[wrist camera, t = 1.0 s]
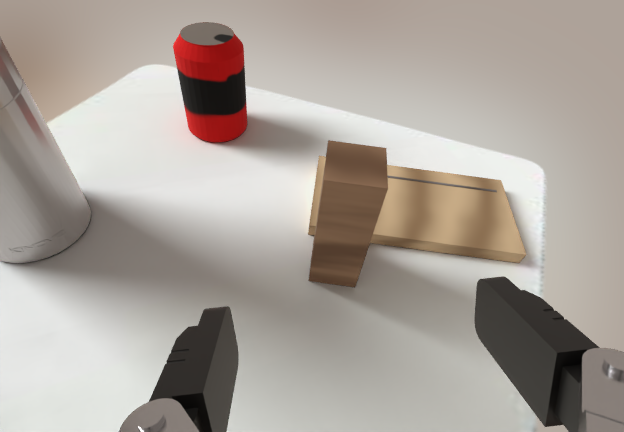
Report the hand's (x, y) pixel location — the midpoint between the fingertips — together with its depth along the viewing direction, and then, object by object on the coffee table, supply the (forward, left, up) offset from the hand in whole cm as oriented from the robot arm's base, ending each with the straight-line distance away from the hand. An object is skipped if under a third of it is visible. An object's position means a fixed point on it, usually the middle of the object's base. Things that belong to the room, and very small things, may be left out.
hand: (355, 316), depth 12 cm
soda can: (-37, +10, -19) cm, 43 cm away
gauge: (-15, +14, -19) cm, 28 cm away
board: (-13, +22, -19) cm, 32 cm away
